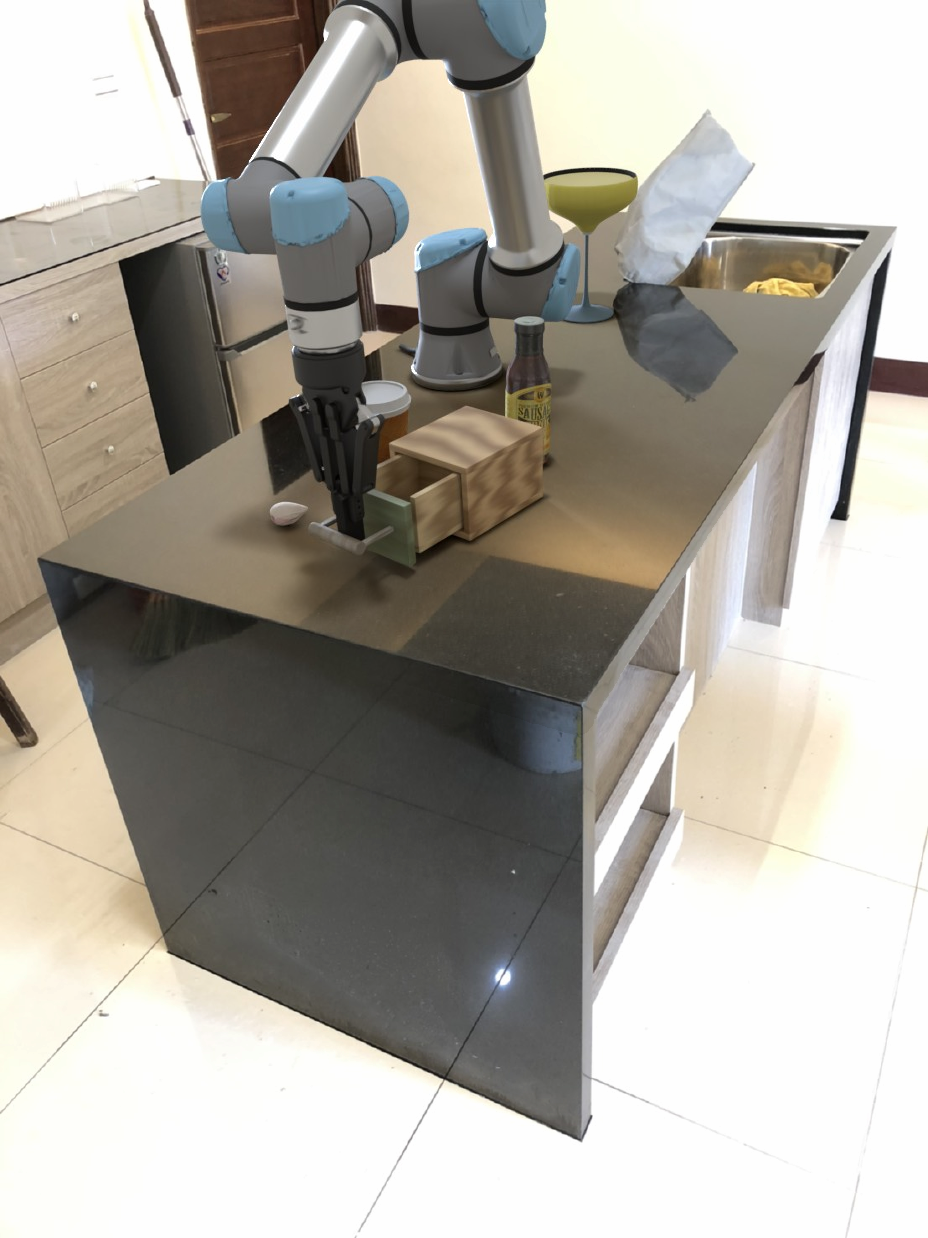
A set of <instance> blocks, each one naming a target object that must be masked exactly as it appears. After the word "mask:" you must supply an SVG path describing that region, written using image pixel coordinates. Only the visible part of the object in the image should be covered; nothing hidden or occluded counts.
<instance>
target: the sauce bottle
mask: <svg viewBox="0 0 928 1238" xmlns="http://www.w3.org/2000/svg"><path fill="white" fill-rule="evenodd" d="M545 323H546V322H545V321H544V319H542V318H540V317H532V316H527V317H520V318H517V319H515V320H513V331H514V334H515V337H514V339H515V340H514V341H515V342H514V356H513V358H512V359H511V360H510V362H509V363H508V366H507V369H506V374H505V375H506V376H505V379H506V380H505V383H506V384H505V385H506V386H505V393H504V394H505V402H504V403H505V404H504V407H505V409H504V413H505V414H504V415H505V417H508V418H512V419H515V420H519V421H522V422H526V423H530V424H533V425H537V426H540V427H542V443H543V465H544V464H546V463H547V462H548V459H549V452H550V449H551V448H550V447H551V445H550V444H551V411H552V410H551V409H552V408H551V407H552V379H551V373H550V369H549V364H548V361H547V360H546V357H545V354H544V351H545V350H544V333H545V330H546V325H545Z"/></svg>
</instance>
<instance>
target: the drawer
mask: <svg viewBox="0 0 928 1238" xmlns="http://www.w3.org/2000/svg"><path fill="white" fill-rule="evenodd" d="M363 503H364V511H365V516H364V518H363V524H364V532H365V539H364V540H362V541H360V540H357V539H355V538H353V537H350V536H348V535H345V534H343V533H341V532H338V530H335V529H333V528H331V526H333V525H335V524H337V521H336V515H334V516H332V517H330V518H328V519H325V520H324V521H323V522H321V523H319V522H316V521H312V522H310V524H309V525H308V528H307V529H308V530H307V531H308V534H309V535H310V536H312V537H314V538H317V539H319V540H322V541H324V542H326V543H328V544H331V545H333V546H335V547H338V548H339V549H343V550H344V551H347V552H349V553H352V554H354V555H356V556H362V555H363V554H365V551H366V550H368V551H371V552H373V553H374V554H375V553H376V554H377V555H380V556H383V557H385V558H388V559H390V560H392V561H395V562H397V563H399V564H402V565H403V566H405V567H408V568H410V567H413V566H414V565H415V564H417V556H416V553H418V554H421V553H423V552H424V551H426V550H428V549H429V548H432V547H433V546H435V545H436V544H437V543H439V542H441V541H443V540H444V539H446V538H447V537H449V536H451V535H453V533H454V532H456V531H458V530H459V529H461V528H463V527H464V518H463V501H462V484H461V473H458V472H455V471H452V470H449V469H446V468H443V467H440V466H437V465H434V464H431V463H428V462H425V461H422V460H419V459H416V458H413V457H410V456H407V455H404V454H401V453H400V454H398V455H396V456H394V457H392V458H390V459H388V460H386V461H384V462H382V463H380V464H378V465H377V475H376V487H375V488H374V489H373V490H371V491H369V492H367V493H365V494H363Z"/></svg>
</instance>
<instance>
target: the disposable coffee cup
mask: <svg viewBox="0 0 928 1238" xmlns="http://www.w3.org/2000/svg"><path fill="white" fill-rule="evenodd" d="M362 390H363V393H364V395H365V397H366V407H367V408H368V409H369V410H370V411H371V412H372V413H373V414H374V415H377V414H382V415H383V416H384V418H385V424H384V426H383V428H382V430H381V432H380V439H379V451H378V463H377V465H378V464H380V463H382V462H384V461H386V460H388V459H390V449H389V443H391V442H393V441H395V440H397V439H399V438H401V437H403V436H405V435H407V434H408V426H409V425H408V424H409V408H410V406H411V403H412V396H411V394H409V391H408V389H407V387H406V386H405V385H404V384H402V383H400V382H397V381H392V380H369V381H362Z"/></svg>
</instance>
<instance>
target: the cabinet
mask: <svg viewBox="0 0 928 1238" xmlns="http://www.w3.org/2000/svg"><path fill="white" fill-rule="evenodd" d="M389 449H390V458H392V457H394V456H396V455H398V454H400V453H401V454H404V455H407V456H410V457H413V458H416V459H419V460H422V461H425V462H428V463H431V464H434V465H437V466H440V467H443V468H446V469H449V470H452V471H455V472H458V473H461V484H462V501H463V518H464V527H463V528H461V529H459V530H458V531H456V532H454V533H453V534H452V536H454V537H455V536H456V537H459V538H460V539H462V540H466V541H468V542H471V541H473V540H474V539H476V538H477V537H479V536H480V535H483V534H484V533H486V532H487V531H489V530H490V529H492V528H494V527H496V526H497V525H500V524H501V523H502V522H504V521H505V520H507V519H509V518H510V517H512V516H514V515H515V514H517V513H518V512H520V511H521V510H523V509H525V508H526V507H528V506H530V505H532V504H533V503H535V502H536V501H538V500H539V499H541V498H543V497H544V467H543V466H544V464H543V443H542V427H540V426H537V425H533V424H530V423H526V422H522V421H519V420H515V419H512V418H508V417H505V416H504V415H501V414H498V413H493V412H490V411H487V410H483V409H479V408H476V407H472V406H468V405H464V406H462V407H461V408H459V409H456V410H454V411H452V412H450V413H448V414H447V415H443V416H442V417H440V418H438V419H436V420H434V421H432V422H430V423H427V424H426V425H423V426H421V427H419V428H417V429H416V430H413V431H410V432H409V433H407V435H405V436H403V437H401V438H399V439H397V440H395V441H393V442H391V443H389Z"/></svg>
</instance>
